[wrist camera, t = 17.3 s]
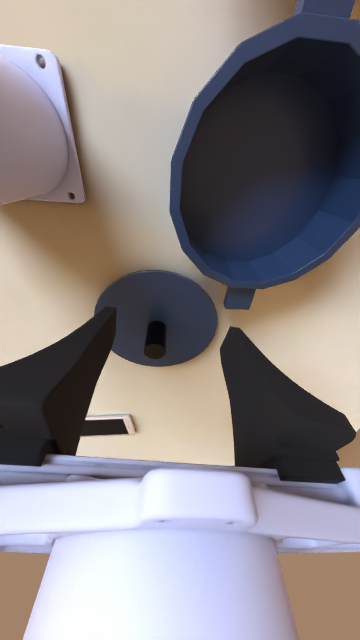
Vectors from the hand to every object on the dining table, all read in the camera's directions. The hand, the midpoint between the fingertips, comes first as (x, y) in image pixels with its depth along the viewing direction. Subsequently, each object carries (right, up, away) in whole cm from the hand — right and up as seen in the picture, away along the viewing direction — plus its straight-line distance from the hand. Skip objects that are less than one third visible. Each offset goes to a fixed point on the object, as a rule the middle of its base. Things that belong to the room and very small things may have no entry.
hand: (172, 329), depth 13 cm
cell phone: (-17, -21, +29) cm, 40 cm away
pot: (+7, +12, +4) cm, 14 cm away
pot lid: (-2, 0, +13) cm, 13 cm away
